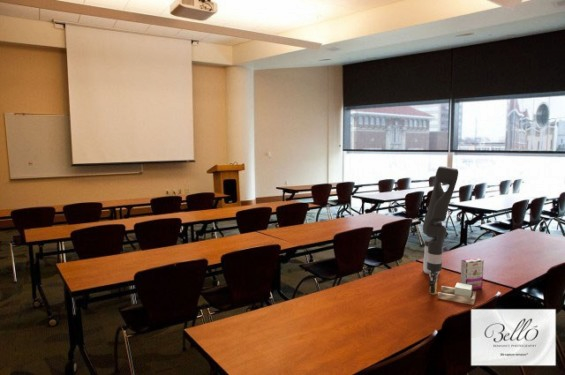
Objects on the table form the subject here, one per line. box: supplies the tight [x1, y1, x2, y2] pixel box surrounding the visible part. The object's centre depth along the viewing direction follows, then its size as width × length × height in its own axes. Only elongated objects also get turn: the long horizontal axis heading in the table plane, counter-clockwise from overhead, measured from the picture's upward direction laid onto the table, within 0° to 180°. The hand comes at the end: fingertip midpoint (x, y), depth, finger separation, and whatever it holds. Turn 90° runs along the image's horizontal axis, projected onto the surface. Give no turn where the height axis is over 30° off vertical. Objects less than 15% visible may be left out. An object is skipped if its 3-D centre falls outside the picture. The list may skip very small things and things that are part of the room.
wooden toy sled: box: [437, 285, 477, 306], centre depth 216 cm, size 17×11×3 cm, turn 60°
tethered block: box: [429, 280, 473, 298], centre depth 217 cm, size 20×8×7 cm, turn 60°
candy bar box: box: [460, 257, 484, 291], centre depth 228 cm, size 11×5×16 cm, turn 105°
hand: (433, 291), depth 222 cm, fingers closed on tethered block, 3 cm apart
